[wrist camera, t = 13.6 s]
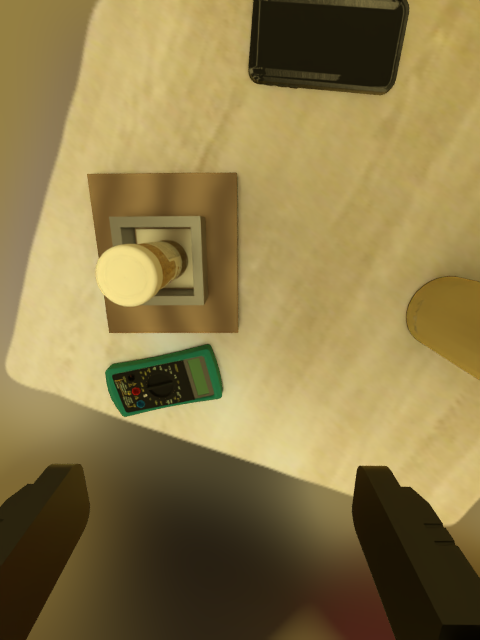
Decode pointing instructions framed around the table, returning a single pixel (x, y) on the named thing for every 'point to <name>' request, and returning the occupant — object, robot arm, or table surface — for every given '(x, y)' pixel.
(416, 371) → the table surface
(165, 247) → the sprinkles bottle
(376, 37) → the phone
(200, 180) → the socket board
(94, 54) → the table surface
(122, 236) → the socket sleeve
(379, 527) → the robot arm
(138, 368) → the digital multimeter
